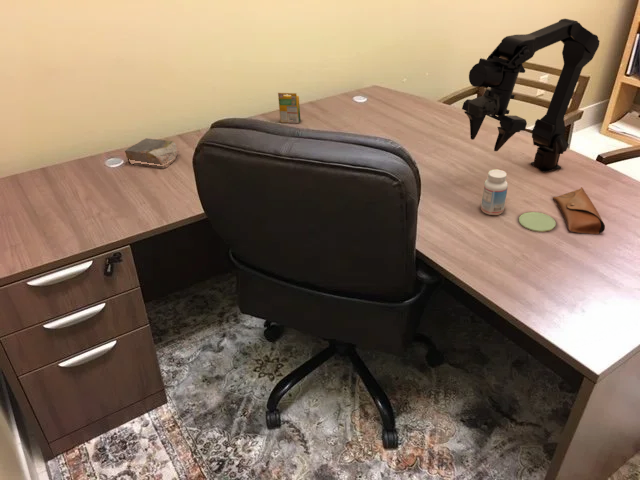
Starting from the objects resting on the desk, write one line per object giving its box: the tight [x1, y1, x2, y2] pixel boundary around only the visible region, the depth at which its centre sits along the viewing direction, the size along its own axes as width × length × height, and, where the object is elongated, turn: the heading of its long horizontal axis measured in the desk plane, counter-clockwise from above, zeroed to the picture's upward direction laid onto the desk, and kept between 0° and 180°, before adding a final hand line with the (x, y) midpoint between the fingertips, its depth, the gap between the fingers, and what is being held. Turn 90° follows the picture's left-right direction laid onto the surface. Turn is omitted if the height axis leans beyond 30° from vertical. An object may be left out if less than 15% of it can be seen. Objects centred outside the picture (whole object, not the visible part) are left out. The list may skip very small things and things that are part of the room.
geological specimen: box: [124, 138, 179, 170], centre depth 180 cm, size 11×6×15 cm
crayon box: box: [277, 92, 301, 124], centre depth 201 cm, size 7×3×12 cm, turn 77°
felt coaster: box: [518, 211, 557, 233], centre depth 140 cm, size 9×9×1 cm
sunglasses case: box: [552, 187, 606, 235], centre depth 141 cm, size 18×7×7 cm, turn 175°
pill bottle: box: [480, 169, 509, 216], centre depth 142 cm, size 6×6×11 cm
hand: (483, 145), depth 147 cm, fingers open, 9 cm apart
